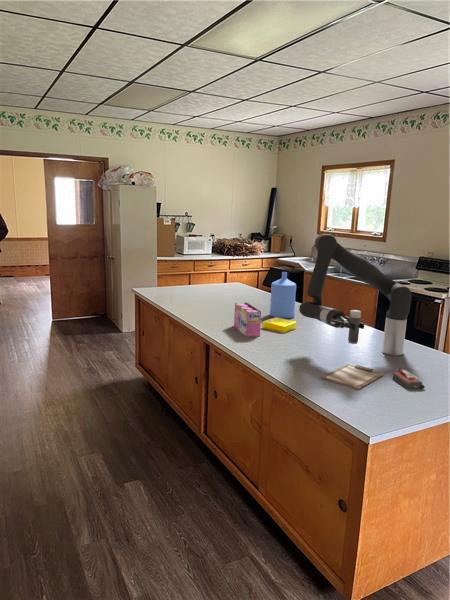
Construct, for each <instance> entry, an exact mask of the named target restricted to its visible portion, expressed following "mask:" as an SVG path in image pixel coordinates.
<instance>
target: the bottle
mask: <svg viewBox="0 0 450 600" xmlns="http://www.w3.org/2000/svg"><path fill="white" fill-rule="evenodd" d="M349 318H350V323H352V324H355V325H356V328H355V330H352V329H350V328H348V336H347V341H348V344H351V345H358V342H359V335H360V328H359V326H360V320H361V318H362V311H361V310H359V309H351V310H350V313H349Z"/></svg>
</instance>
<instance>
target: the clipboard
mask: <svg viewBox="0 0 450 600" xmlns="http://www.w3.org/2000/svg"><path fill="white" fill-rule="evenodd" d="M383 376H385V374H384V373H381V372H377V371H374V368H370V367H367V366H363V365H360V364H356V365H352V364H349V363H348V364H345V365H344V366H341V367H339V368H337V369H335V370H333V371H330V372H329V373H327V374H324V375H323V376H321V377H320V379H323V380H326V381H329V382H332V383H336V384H339V385H342V386H345V387H347V388H351V389H354V390H357V391H360V390H362V389H364V388H365V387H367V386H369V385H370V384H371V383H373V382H375V381H377V380H378V379H380V378H382V377H383Z"/></svg>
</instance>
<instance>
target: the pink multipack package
mask: <svg viewBox="0 0 450 600" xmlns="http://www.w3.org/2000/svg"><path fill="white" fill-rule="evenodd" d="M233 317H234V319H233V326H234V328H235V329H237V330H238V331H239V332H240V333H241V334H242V335H244V336H245V337H247V338H250V337H252V338H253V337H260V336H261V325H262V324H261V323H262V321H261V319H262V311H261V310H260V309H258V308H256V307H255V306H253V305H251V304H250V303H248V302H244V303H237V302H235V303H234V316H233Z"/></svg>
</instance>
